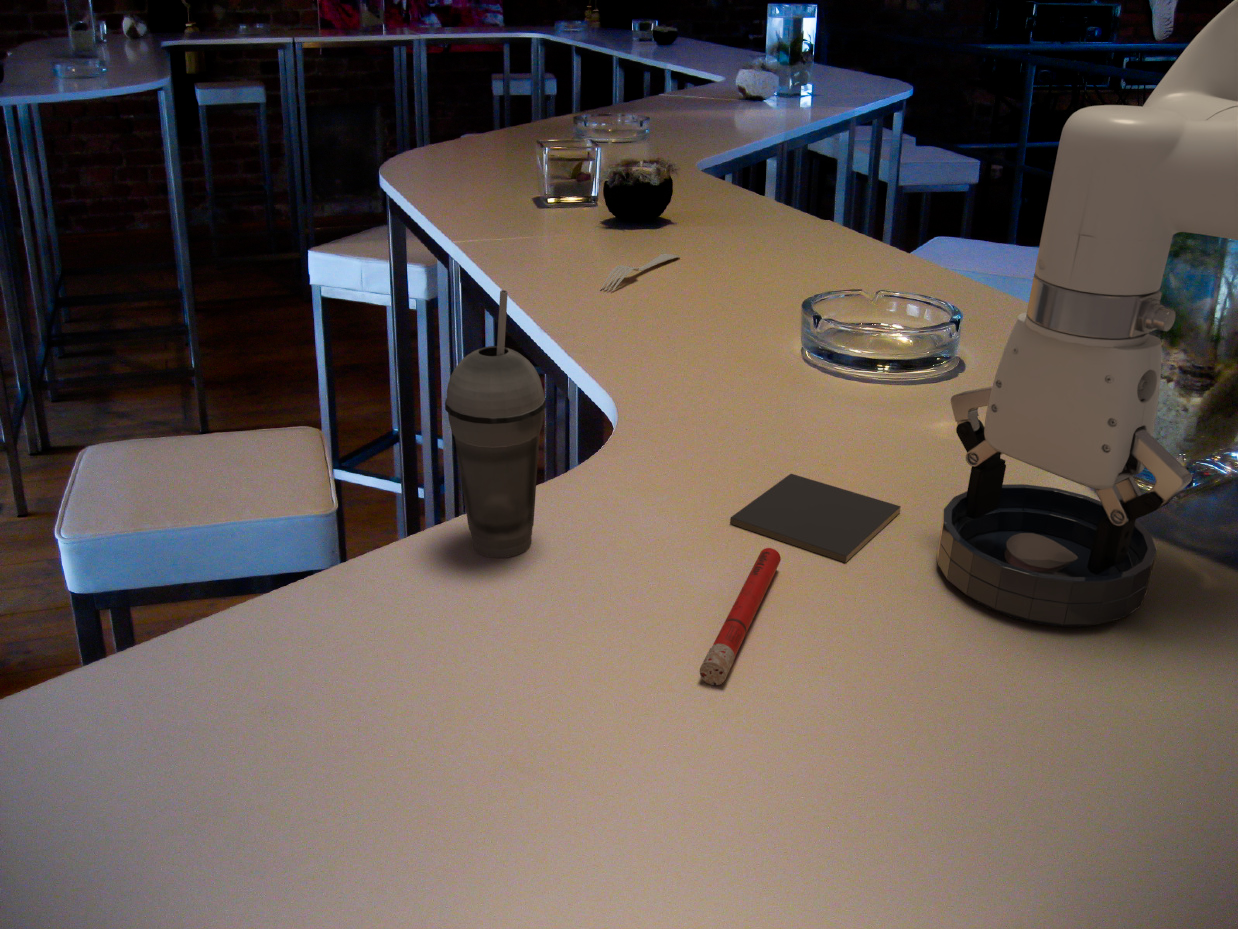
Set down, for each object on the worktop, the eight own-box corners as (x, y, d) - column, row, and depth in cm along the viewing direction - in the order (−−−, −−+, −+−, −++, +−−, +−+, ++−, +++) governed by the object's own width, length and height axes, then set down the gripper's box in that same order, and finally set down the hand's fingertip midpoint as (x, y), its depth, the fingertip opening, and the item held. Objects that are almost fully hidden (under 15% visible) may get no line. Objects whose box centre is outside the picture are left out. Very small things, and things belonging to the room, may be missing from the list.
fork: (682, 273, 160) (683, 254, 159) (614, 293, 143) (616, 272, 142) (664, 271, 161) (666, 252, 160) (596, 290, 144) (597, 269, 143)
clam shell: (997, 552, 81) (1003, 522, 80) (1067, 557, 80) (1074, 527, 79) (1008, 582, 77) (1014, 551, 76) (1081, 588, 76) (1088, 557, 75)
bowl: (1008, 512, 88) (1016, 468, 86) (1181, 586, 78) (1194, 537, 76) (896, 568, 80) (903, 520, 78) (1073, 658, 70) (1085, 605, 68)
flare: (698, 682, 67) (700, 659, 67) (758, 566, 80) (759, 545, 79) (724, 688, 67) (726, 665, 66) (780, 570, 79) (782, 550, 79)
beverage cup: (497, 511, 87) (486, 267, 79) (568, 538, 84) (565, 285, 75) (433, 547, 82) (414, 290, 73) (506, 578, 78) (494, 310, 70)
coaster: (790, 479, 93) (790, 473, 93) (900, 512, 88) (900, 506, 87) (729, 523, 86) (730, 517, 86) (845, 563, 80) (846, 556, 80)
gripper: (1254, 332, 66) (1184, 573, 74) (1006, 269, 78) (968, 481, 86) (1195, 356, 62) (1127, 609, 69) (943, 285, 74) (908, 507, 81)
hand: (1039, 538), depth 77 cm, fingers open, 9 cm apart
